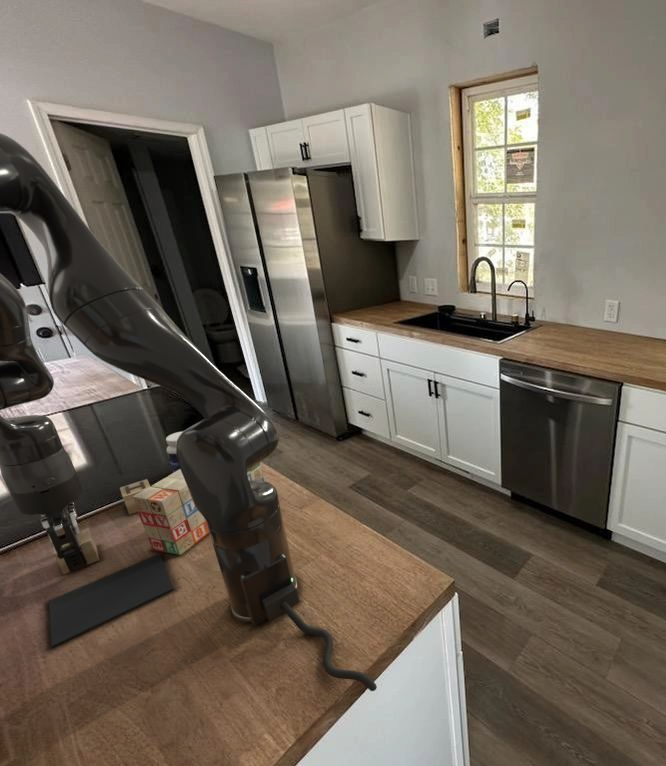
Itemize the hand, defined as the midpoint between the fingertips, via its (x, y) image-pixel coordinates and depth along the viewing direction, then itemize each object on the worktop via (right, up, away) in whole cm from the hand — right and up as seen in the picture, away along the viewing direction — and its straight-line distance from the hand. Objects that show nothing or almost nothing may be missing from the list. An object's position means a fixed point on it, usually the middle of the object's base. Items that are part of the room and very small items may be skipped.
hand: (77, 554), depth 73 cm
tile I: (0, -1, +1) cm, 1 cm away
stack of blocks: (+16, +3, +12) cm, 20 cm away
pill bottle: (-1, +9, +27) cm, 28 cm away
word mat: (+12, -4, -6) cm, 14 cm away
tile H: (-2, +4, +15) cm, 16 cm away
